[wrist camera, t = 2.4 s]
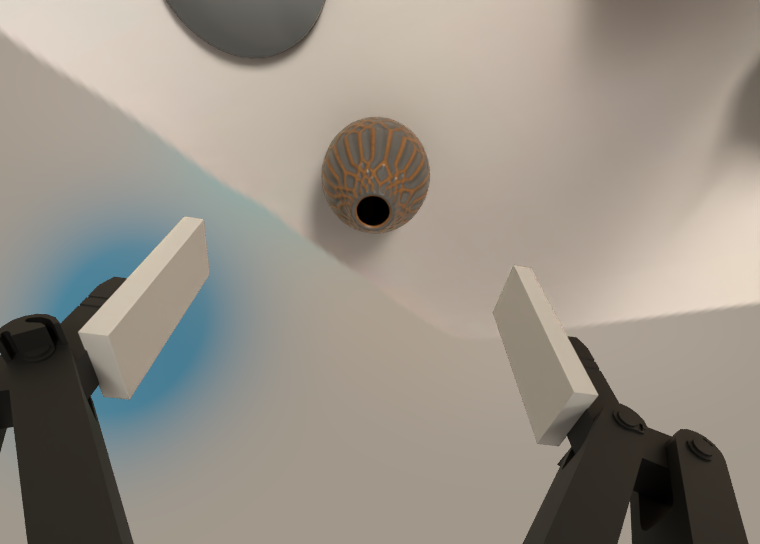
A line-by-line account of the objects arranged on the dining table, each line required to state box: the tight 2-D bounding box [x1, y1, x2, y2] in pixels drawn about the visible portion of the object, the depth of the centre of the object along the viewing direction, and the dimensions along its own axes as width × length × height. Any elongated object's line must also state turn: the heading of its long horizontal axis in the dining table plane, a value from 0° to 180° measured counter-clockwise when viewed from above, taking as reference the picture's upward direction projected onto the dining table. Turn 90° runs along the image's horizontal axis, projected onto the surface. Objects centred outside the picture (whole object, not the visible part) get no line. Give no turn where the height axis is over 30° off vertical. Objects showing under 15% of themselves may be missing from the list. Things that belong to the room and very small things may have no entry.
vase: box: [322, 117, 430, 233], centre depth 25 cm, size 7×7×9 cm
